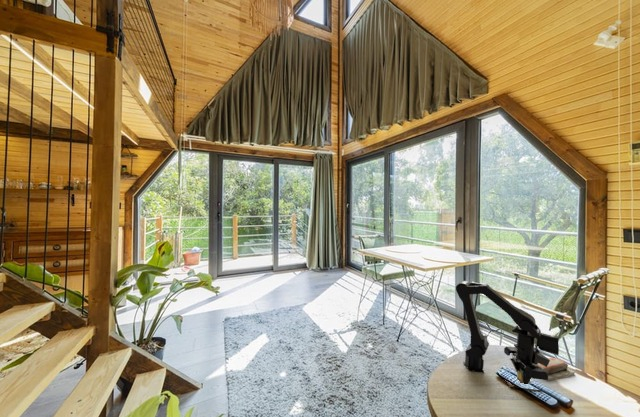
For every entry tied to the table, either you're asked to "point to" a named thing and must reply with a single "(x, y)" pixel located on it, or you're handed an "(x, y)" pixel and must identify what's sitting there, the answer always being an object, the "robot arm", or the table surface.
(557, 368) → the packaged product
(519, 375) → the stub
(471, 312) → the robot arm
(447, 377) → the table surface
